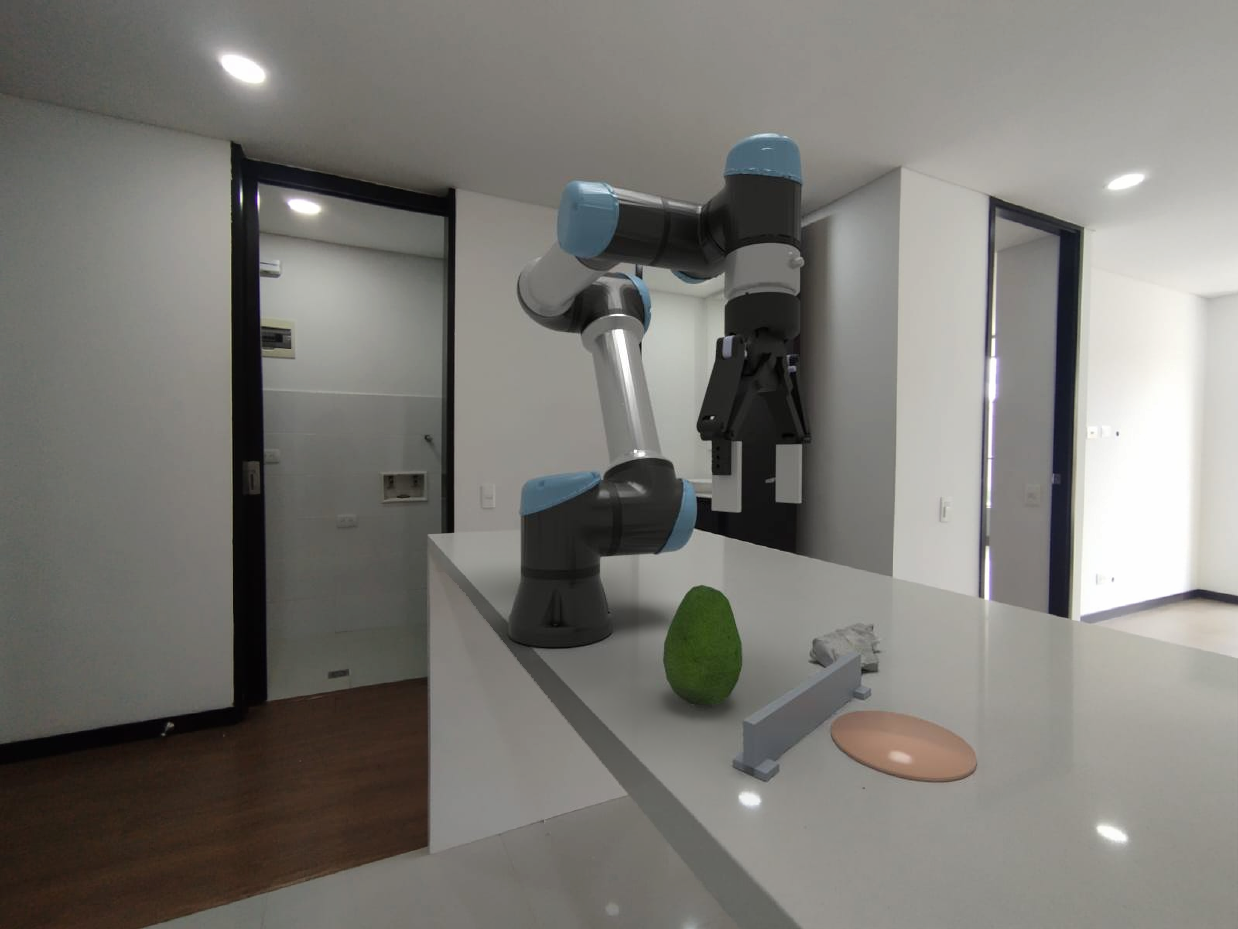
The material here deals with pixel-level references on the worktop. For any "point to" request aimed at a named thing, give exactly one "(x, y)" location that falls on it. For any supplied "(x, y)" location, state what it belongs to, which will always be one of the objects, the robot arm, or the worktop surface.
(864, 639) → the stone
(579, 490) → the robot arm
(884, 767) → the saucer
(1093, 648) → the worktop surface
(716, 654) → the fruit
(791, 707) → the acrylic wall
